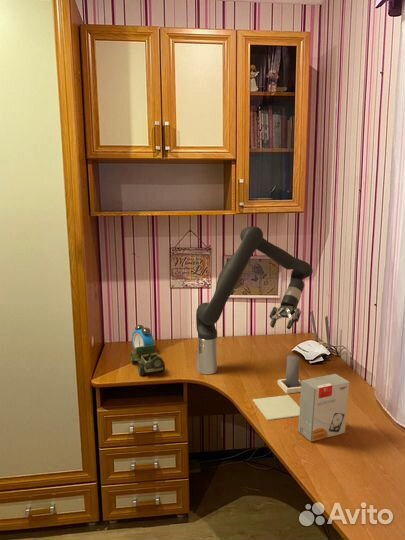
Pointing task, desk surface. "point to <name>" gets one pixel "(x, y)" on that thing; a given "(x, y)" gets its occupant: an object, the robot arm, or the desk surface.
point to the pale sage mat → (277, 407)
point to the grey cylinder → (292, 371)
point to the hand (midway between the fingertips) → (279, 327)
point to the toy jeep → (147, 359)
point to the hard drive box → (323, 407)
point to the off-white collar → (289, 390)
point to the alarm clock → (142, 337)
